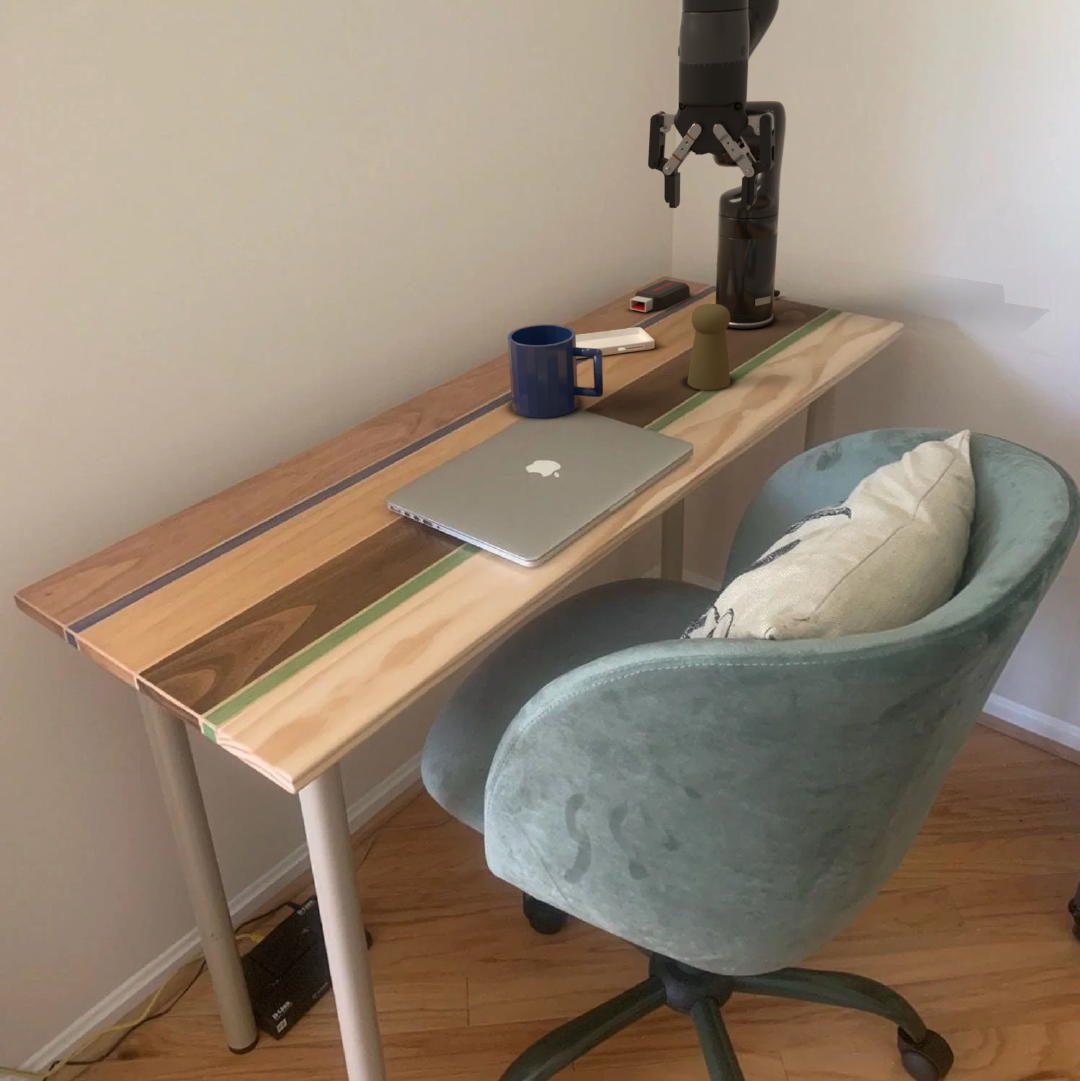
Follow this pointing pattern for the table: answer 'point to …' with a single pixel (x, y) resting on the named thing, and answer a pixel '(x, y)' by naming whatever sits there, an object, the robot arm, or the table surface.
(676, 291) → the usb drive
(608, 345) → the phone case
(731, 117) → the robot arm
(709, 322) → the olive pawn figure
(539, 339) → the mug
